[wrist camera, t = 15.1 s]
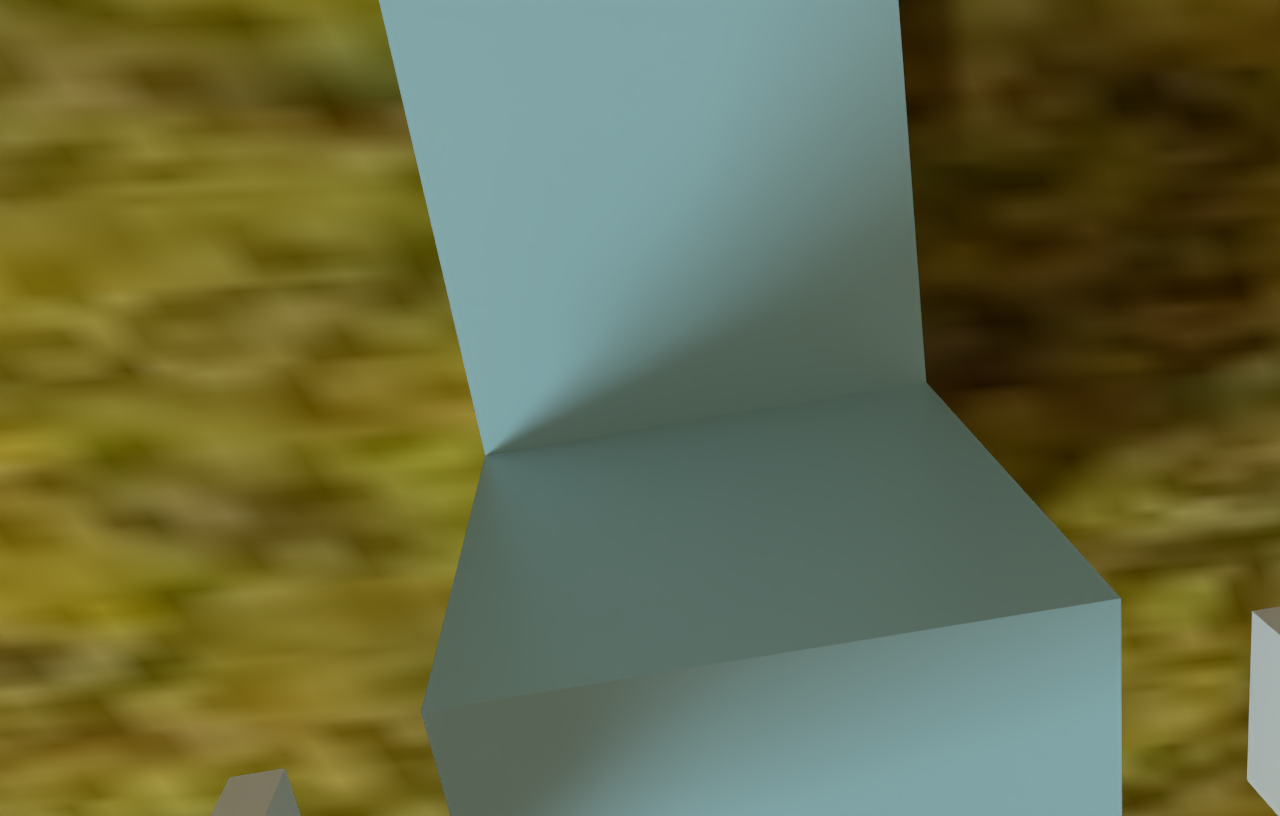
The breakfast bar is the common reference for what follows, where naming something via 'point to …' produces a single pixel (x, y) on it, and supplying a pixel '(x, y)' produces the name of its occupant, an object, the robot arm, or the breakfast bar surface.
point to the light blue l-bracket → (725, 438)
